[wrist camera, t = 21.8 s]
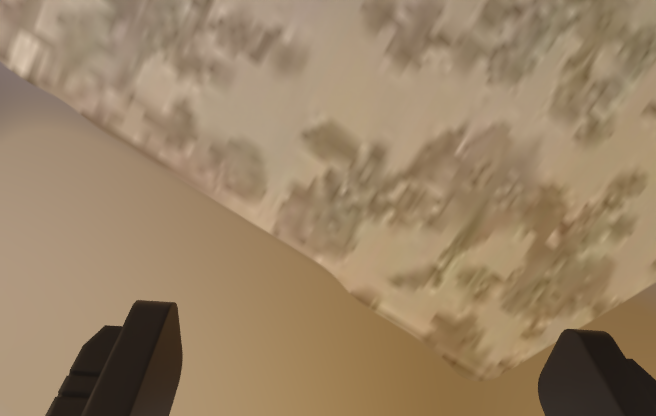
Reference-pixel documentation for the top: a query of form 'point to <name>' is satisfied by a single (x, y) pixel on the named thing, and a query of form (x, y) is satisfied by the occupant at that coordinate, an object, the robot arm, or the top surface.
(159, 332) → the robot arm
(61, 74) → the top surface
